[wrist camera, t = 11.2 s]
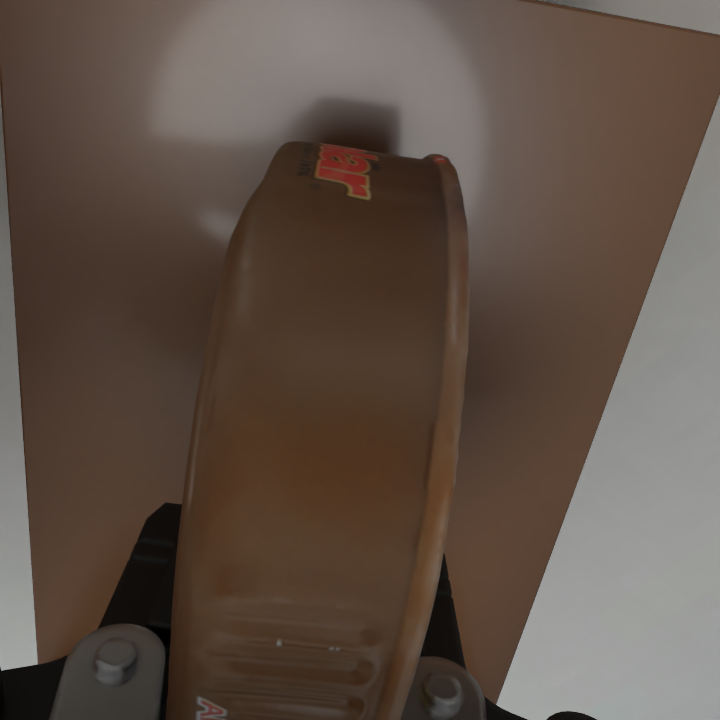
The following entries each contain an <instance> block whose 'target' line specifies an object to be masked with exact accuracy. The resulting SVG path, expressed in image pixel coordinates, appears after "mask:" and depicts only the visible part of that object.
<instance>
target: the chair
mask: <svg viewBox="0 0 720 720" xmlns="http://www.w3.org/2000/svg"><path fill="white" fill-rule="evenodd" d="M0 87H1V102H2V118H3V133H4V148H5V164H6V179H7V195H8V210H9V225H10V241H11V256H12V271H13V287H14V302H15V318H16V333H17V348H18V364H19V379H20V395H21V410H22V425H23V441H24V456H25V471H26V487H27V502H28V518H29V533H30V548H31V564H32V579H33V594H34V610H35V625H36V641H37V656H38V664H43V663H47V662H51V661H54V660H57V659H60V658H62V657H64V656H66V655H68V654H69V653H70V652H71V650H72V648H73V647H74V646H75V645H76V644H77V643H78V642H79V641H80V640H81V639H82V638H83V637H85V636H86V635H88V634H89V633H91V632H93V631H95V630H97V629H98V627H99V625H100V623H101V621H102V618H103V616H104V614H105V612H106V609H107V607H108V605H109V603H110V600H111V598H112V596H113V593H114V591H115V589H116V587H117V584H118V582H119V580H120V578H121V575H122V573H123V571H124V569H125V566H126V564H127V562H128V561H129V559H130V555H131V553H132V551H133V548H134V546H135V544H136V543H137V539H138V537H139V535H140V532H141V530H142V528H143V526H144V523H145V521H146V519H147V518H148V517H149V516H150V515H151V514H153V513H154V512H155V511H156V510H157V509H158V508H160V507H161V506H162V505H163V504H164V503H165V502H167V503H175V504H182V500H183V491H184V483H185V474H186V466H187V459H188V452H189V445H190V438H191V431H192V424H193V417H194V410H195V403H196V396H197V390H198V385H199V381H200V376H201V371H202V366H203V361H204V356H205V350H206V345H207V340H208V334H209V329H210V324H211V319H212V314H213V309H214V304H215V299H216V294H217V290H218V285H219V280H220V276H221V273H222V269H223V265H224V262H225V258H226V254H227V250H228V247H229V243H230V239H231V236H232V234H233V232H234V229H235V227H236V225H237V222H238V220H239V218H240V216H241V213H242V211H243V209H244V207H245V206H246V204H247V202H248V200H249V199H250V197H251V196H252V194H253V193H254V192H255V190H256V189H257V188H258V186H259V185H260V184H261V182H262V181H263V178H264V176H265V174H266V172H267V169H268V167H269V165H270V162H271V160H272V159H273V157H274V155H275V153H276V152H277V150H278V149H279V148H280V147H281V146H282V145H283V144H285V143H287V142H292V141H305V142H314V143H322V144H331V145H338V146H343V147H349V148H355V149H361V150H367V151H372V152H378V153H384V154H390V155H397V156H404V157H411V158H417V159H423V158H424V157H426V156H427V155H429V154H441V155H443V156H446V157H447V158H449V160H450V162H451V163H452V165H453V166H454V167H455V169H456V171H457V174H458V178H459V182H460V184H461V188H462V189H461V191H462V195H463V201H464V208H465V215H466V218H467V230H468V240H469V287H470V304H469V329H468V354H467V363H466V375H465V384H464V402H463V408H462V414H461V431H460V436H459V442H458V462H457V467H456V483H455V488H454V493H453V498H452V504H451V509H450V515H449V521H448V527H447V534H446V541H445V548H444V554H445V558H446V563H447V569H448V574H449V578H448V580H450V585H451V591H452V598H453V601H454V607H455V612H456V618H457V623H458V629H459V634H460V640H461V645H462V650H463V656H464V661H465V666H466V669H467V671H468V672H469V673H470V674H471V675H472V676H473V677H474V678H475V680H476V681H477V682H478V684H479V686H480V687H481V689H482V692H483V695H484V696H485V697H486V698H487V699H488V700H490V701H491V702H492V703H494V704H495V705H496V703H497V701H498V698H499V695H500V692H501V690H502V687H503V684H504V681H505V679H506V676H507V673H508V671H509V668H510V665H511V662H512V660H513V657H514V654H515V651H516V649H517V646H518V643H519V641H520V638H521V635H522V632H523V630H524V627H525V624H526V621H527V619H528V616H529V613H530V611H531V608H532V605H533V602H534V600H535V597H536V594H537V591H538V589H539V586H540V583H541V581H542V578H543V575H544V572H545V570H546V567H547V564H548V561H549V559H550V556H551V553H552V551H553V548H554V545H555V542H556V540H557V537H558V534H559V531H560V529H561V526H562V523H563V520H564V518H565V515H566V512H567V510H568V507H569V504H570V501H571V499H572V496H573V493H574V490H575V488H576V485H577V482H578V480H579V477H580V474H581V471H582V469H583V466H584V463H585V460H586V458H587V455H588V452H589V450H590V447H591V444H592V441H593V439H594V436H595V433H596V430H597V428H598V425H599V422H600V420H601V417H602V414H603V411H604V409H605V406H606V403H607V400H608V398H609V395H610V392H611V390H612V387H613V384H614V381H615V379H616V376H617V373H618V370H619V368H620V365H621V362H622V360H623V357H624V354H625V351H626V349H627V346H628V343H629V340H630V338H631V335H632V332H633V330H634V327H635V324H636V321H637V319H638V316H639V313H640V310H641V308H642V305H643V302H644V300H645V297H646V294H647V291H648V289H649V286H650V283H651V280H652V278H653V275H654V272H655V270H656V267H657V264H658V261H659V259H660V256H661V253H662V250H663V248H664V245H665V242H666V239H667V237H668V234H669V231H670V229H671V226H672V223H673V220H674V218H675V215H676V212H677V209H678V207H679V204H680V201H681V199H682V196H683V193H684V190H685V188H686V185H687V182H688V179H689V177H690V174H691V171H692V169H693V166H694V163H695V160H696V158H697V155H698V152H699V149H700V147H701V144H702V141H703V139H704V136H705V133H706V130H707V128H708V125H709V122H710V119H711V117H712V114H713V111H714V109H715V106H716V103H717V100H718V98H719V95H720V35H717V34H712V33H707V32H702V31H696V30H691V29H686V28H681V27H675V26H670V25H665V24H659V23H654V22H649V21H644V20H638V19H633V18H628V17H623V16H617V15H612V14H607V13H601V12H596V11H591V10H586V9H580V8H575V7H570V6H565V5H559V4H554V3H549V2H543V1H538V0H0Z"/></svg>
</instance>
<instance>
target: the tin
mask: <svg viewBox="0 0 720 720" xmlns="http://www.w3.org/2000/svg"><path fill="white" fill-rule="evenodd" d="M461 189H462V188H461V184H460V182H459V178H458V174H457V171H456V169H455V167H454V166H453V165H452V163H451V162H450V160H449V158H447V157H446V156H443V155H441V154H429V155H427V156H426V157H424V158H423V159H417V158H411V157H404V156H397V155H390V154H384V153H378V152H372V151H367V150H361V149H355V148H349V147H343V146H338V145H331V144H322V143H314V142H305V141H292V142H287V143H285V144H283V145H282V146H281V147H280V148H279V149H278V150H277V152H276V153H275V155H274V157H273V159H272V160H271V162H270V165H269V167H268V169H267V172H266V174H265V176H264V178H263V181H262V182H261V184H260V185H259V186H258V188H257V189H256V190H255V192H254V193H253V194H252V196H251V197H250V199H249V200H248V202H247V204H246V206H245V207H244V209H243V211H242V213H241V216H240V218H239V220H238V222H237V225H236V227H235V229H234V232H233V234H232V236H231V239H230V243H229V247H228V250H227V254H226V258H225V262H224V265H223V269H222V273H221V276H220V280H219V285H218V290H217V294H216V299H215V304H214V309H213V314H212V319H211V324H210V329H209V334H208V340H207V345H206V350H205V356H204V361H203V366H202V371H201V376H200V381H199V385H198V390H197V396H196V403H195V410H194V417H193V424H192V431H191V438H190V445H189V452H188V459H187V466H186V474H185V483H184V491H183V500H182V509H181V517H180V526H179V535H178V546H177V556H176V567H175V578H174V589H173V603H172V620H171V644H170V657H169V679H168V696H167V709H166V720H400V719H401V716H402V713H403V710H404V707H405V704H406V701H407V698H408V693H409V691H410V688H411V685H412V682H413V680H414V676H415V672H416V669H417V665H418V662H419V658H420V654H421V651H422V647H423V643H424V640H425V636H426V632H427V629H428V625H429V622H430V618H431V613H432V609H433V605H434V601H435V596H436V592H437V587H438V582H439V577H440V571H441V565H442V560H443V554H444V548H445V541H446V534H447V527H448V521H449V515H450V509H451V504H452V498H453V493H454V488H455V483H456V467H457V462H458V442H459V436H460V431H461V414H462V408H463V402H464V384H465V375H466V363H467V354H468V329H469V304H470V287H469V240H468V230H467V218H466V215H465V208H464V201H463V195H462V191H461Z"/></svg>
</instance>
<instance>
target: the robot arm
mask: <svg viewBox="0 0 720 720" xmlns="http://www.w3.org/2000/svg"><path fill="white" fill-rule="evenodd" d="M181 509H182V504H175V503H167V502H165V503H164V504H163V505H162V506H161V507H160V508H158V509H157V510H156V511H155V512H154V513H153V514H151V515H150V516H149V517H148V518H147V519H146V521H145V523H144V526H143V528H142V530H141V532H140V535H139V537H138V539H137V543H136V544H135V546H134V548H133V551H132V553H131V555H130V559H129V561H128V562H127V564H126V566H125V569H124V571H123V573H122V575H121V578H120V580H119V582H118V584H117V587H116V589H115V591H114V593H113V596H112V598H111V600H110V603H109V605H108V607H107V609H106V612H105V614H104V616H103V618H102V621H101V623H100V625H99V627H98V629H97V630H95V631H93V632H91V633H89V634H88V635H86V636H85V637H83V638H82V639H81V640H80V641H79V642H78V643H77V644H76V645H75V646H74V647H73V648H72V650H71V652H70V653H69V654H68V655H66V656H64V657H62V658H60V659H57V660H54V661H51V662H47V663H43V664H38V665H33V666H27V667H21V668H15V669H9V670H4V671H1V668H0V720H166V709H167V696H168V679H169V657H170V644H171V620H172V603H173V589H174V578H175V567H176V556H177V546H178V535H179V526H180V517H181ZM448 578H449V574H448V569H447V563H446V558H445V554H443V560H442V565H441V571H440V577H439V582H438V587H437V592H436V596H435V601H434V605H433V609H432V613H431V618H430V622H429V625H428V629H427V632H426V636H425V640H424V643H423V647H422V651H421V654H420V658H419V662H418V665H417V669H416V672H415V676H414V680H413V682H412V685H411V688H410V691H409V693H408V698H407V701H406V704H405V707H404V710H403V713H402V716H401V719H400V720H527V719H524V718H522V717H520V716H517V715H515V714H512V713H510V712H508V711H506V710H504V709H502V708H500V707H498V706H497V705H495V704H494V703H492V702H491V701H490V700H488V699H487V698H486V697H485V696H484V695H483V692H482V689H481V687H480V686H479V684H478V682H477V681H476V680H475V678H474V677H473V676H472V675H471V674H470V673H469V672H468V671H467V669H466V666H465V661H464V656H463V650H462V645H461V640H460V634H459V629H458V623H457V618H456V612H455V607H454V601H453V598H452V591H451V585H450V580H448ZM547 720H596V719H595V718H593V717H590V716H588V715H585V714H582V713H578V712H570V711H567V712H559V713H556V714H554V715H552V716H550V717H549V718H548V719H547Z"/></svg>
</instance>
